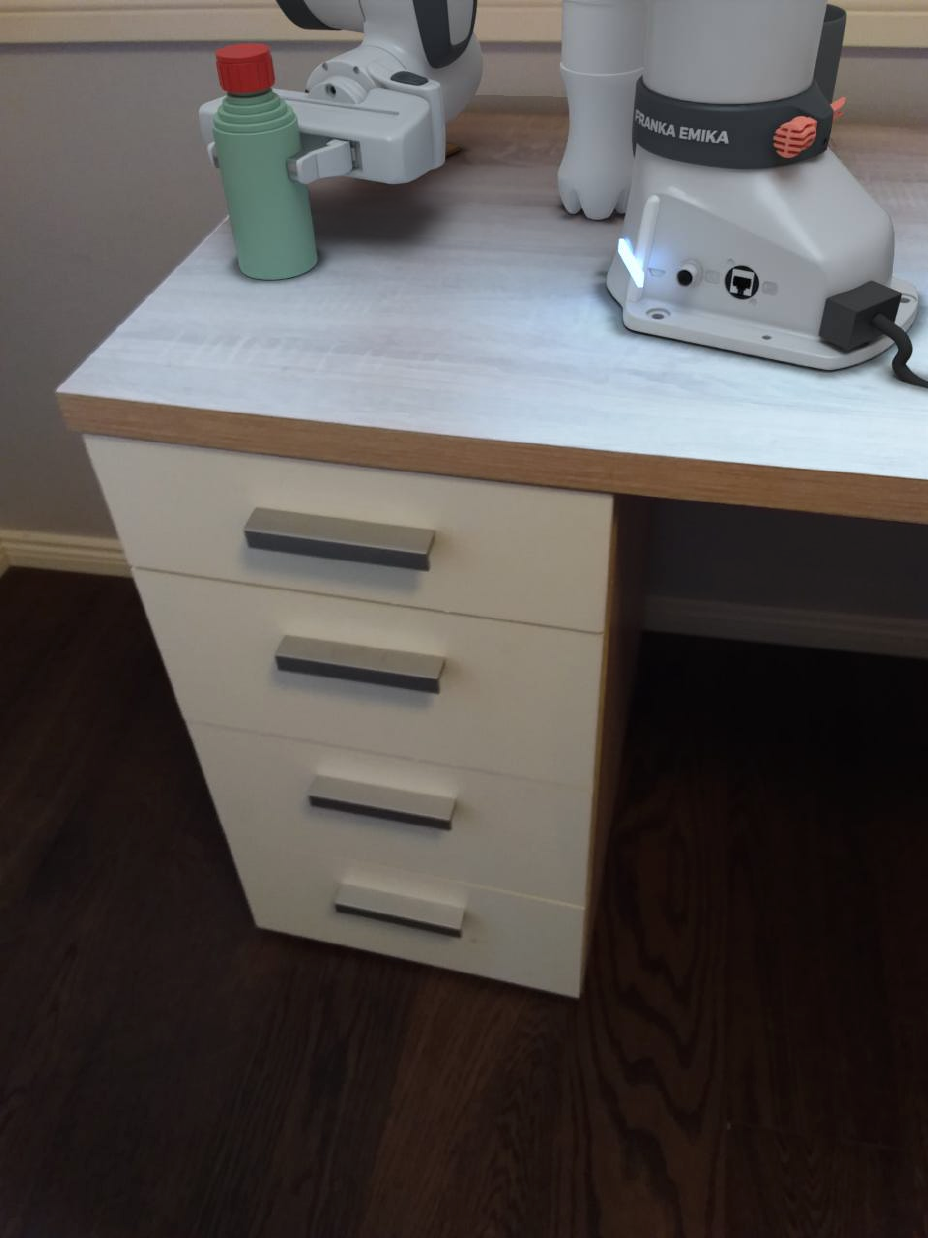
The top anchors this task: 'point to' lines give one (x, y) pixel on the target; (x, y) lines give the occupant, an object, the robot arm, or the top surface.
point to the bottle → (264, 185)
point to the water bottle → (600, 101)
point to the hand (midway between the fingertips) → (254, 165)
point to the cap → (245, 68)
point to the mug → (830, 50)
